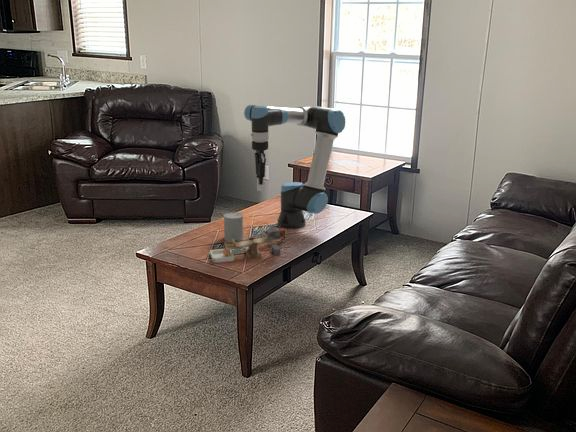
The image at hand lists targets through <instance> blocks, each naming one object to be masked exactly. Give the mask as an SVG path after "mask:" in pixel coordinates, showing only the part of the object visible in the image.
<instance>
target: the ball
mask: <svg viewBox="0 0 576 432" xmlns="http://www.w3.org/2000/svg"><path fill="white" fill-rule="evenodd" d="M223 249H224V250H223V255H224V256H228V255H229V254H230V250H226V248H223Z"/></svg>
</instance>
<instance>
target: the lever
mask: <svg viewBox="0 0 576 432" xmlns="http://www.w3.org/2000/svg"><path fill="white" fill-rule="evenodd" d="M278 229H279V228H277V227H273V228H266V230H267V237H260V238H254V239H251V240H249V239H248V240H241V241H238V242H235V241H234V239H232V241H224V247H225V248H224V249H226V250H231V251H233V250H236V249H237V250H238V249H242V248H249V246H252V243H256V242H257V246H259V245H265V244H269V243H271V244H272V243H277V241H278V242H281V241H282V239H281V238H280V234H279V230H278Z"/></svg>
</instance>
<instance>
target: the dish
mask: <svg viewBox="0 0 576 432" xmlns="http://www.w3.org/2000/svg"><path fill="white" fill-rule="evenodd" d="M224 249H225V248H220V249H219V248H218V249H210V250H209V255H210V258H211V260H212V263H214V264H215V263H225V262H234V261H235V255H234V253H233V250H230V254H229V255H228V256H224V255H223V250H224Z"/></svg>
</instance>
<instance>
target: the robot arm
mask: <svg viewBox="0 0 576 432" xmlns="http://www.w3.org/2000/svg"><path fill="white" fill-rule="evenodd" d="M243 114H244V118H245V119H246V120H247V121H250V122H251V133H250V136H251V140H252V141H251V149H252V150H253V151H255V152H254V162H255V174H256V182H257V183H256V191H257V192H263V191H264V188H265V187H264V178H265V176H266V175H265V174H266V162H267V158H266V153H265V151H267V150H269V127H273V126H280V125H283V124H296V125H297V126H301V127H306V128H311V129H314V130H315V134H316V135H317V136H316V142H315V146H314V151H313V154H312V159H311V163H310V167H309V172H308V177H307V181H306V182H305V183H303V182H299V181H291V182H285V183H283V184H282V185H281V187H280V213H279V215H278V218H277V226H278V227H279V228H285V229H286V230H296V229H298V230H299V229H302V228H304V227H306V223H307V221H306V219H305V214H304V211H305V212H308V213H309V214H314V215H316V214H321V213H322V211H324V210H325V209H326V207H327V205H328V201H329V197H328V194H326V187H325V186H324V185H325V184H324V183H325V180H326V175H327V170H328V167H329V162H330V159H331V158H330V157H331V154H332V149H333V145H334V140H336V139H337V138H338V136H339V134H340V133H343V131H344V130H345V127H346V116H345V114H344V112H342V110H340V109H337V108H333V107H327V106H326V107H325V106H318V105H317V106H316V105H315V106H298V107H297V108H296V107H281V106H270V105H269V106H265V105H256V104H249V105H247V106H246V107H245V108H244V112H243Z"/></svg>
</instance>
